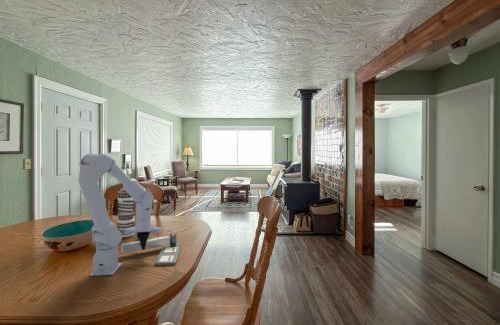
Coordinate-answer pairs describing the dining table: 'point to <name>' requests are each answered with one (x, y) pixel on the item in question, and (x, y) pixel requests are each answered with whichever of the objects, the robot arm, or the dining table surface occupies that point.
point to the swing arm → (149, 244)
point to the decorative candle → (125, 212)
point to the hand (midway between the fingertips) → (143, 249)
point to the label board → (168, 256)
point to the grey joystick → (173, 241)
